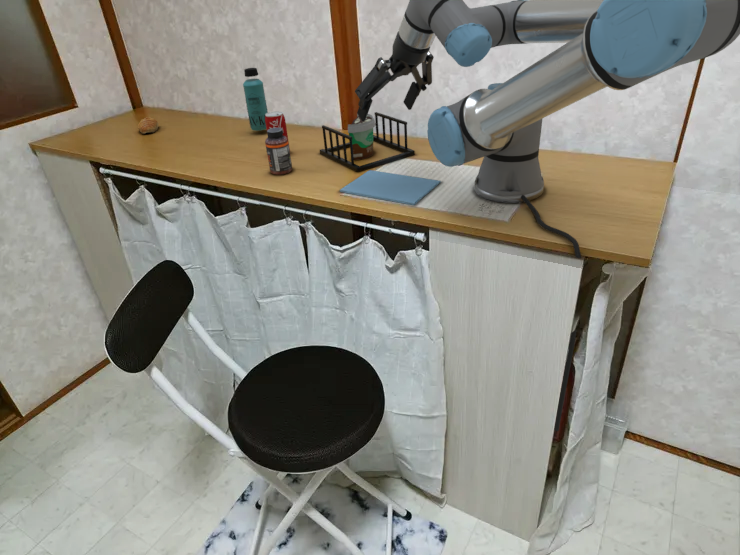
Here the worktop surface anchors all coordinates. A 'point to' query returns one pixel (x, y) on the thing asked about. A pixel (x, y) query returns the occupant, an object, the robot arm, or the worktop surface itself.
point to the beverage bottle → (255, 100)
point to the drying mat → (391, 187)
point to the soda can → (276, 121)
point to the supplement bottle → (278, 152)
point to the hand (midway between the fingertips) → (384, 111)
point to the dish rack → (406, 151)
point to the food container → (362, 137)
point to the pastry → (148, 125)
